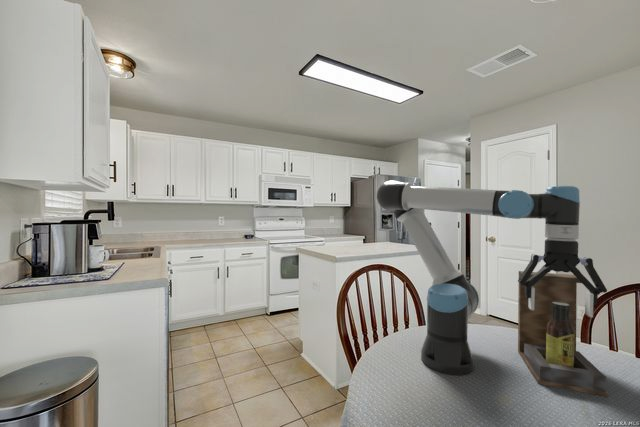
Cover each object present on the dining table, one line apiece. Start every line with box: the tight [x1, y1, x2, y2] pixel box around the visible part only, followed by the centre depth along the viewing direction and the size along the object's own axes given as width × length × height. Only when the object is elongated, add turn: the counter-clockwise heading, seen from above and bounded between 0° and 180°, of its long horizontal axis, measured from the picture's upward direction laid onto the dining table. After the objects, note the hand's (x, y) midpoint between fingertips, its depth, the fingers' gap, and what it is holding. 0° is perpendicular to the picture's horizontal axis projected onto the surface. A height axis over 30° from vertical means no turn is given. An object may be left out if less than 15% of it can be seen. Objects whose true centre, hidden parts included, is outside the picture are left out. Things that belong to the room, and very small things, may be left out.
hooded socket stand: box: [517, 270, 609, 398], centre depth 86 cm, size 15×20×28 cm
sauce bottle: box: [546, 302, 574, 368], centre depth 84 cm, size 6×6×20 cm
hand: (559, 312), depth 84 cm, fingers open, 13 cm apart
